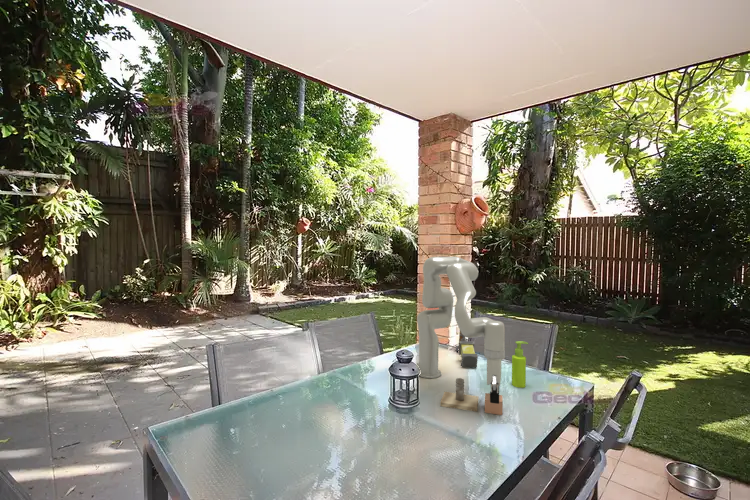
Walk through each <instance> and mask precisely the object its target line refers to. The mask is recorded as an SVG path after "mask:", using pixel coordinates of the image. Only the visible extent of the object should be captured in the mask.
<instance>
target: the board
mask: <svg viewBox="0 0 750 500" xmlns="http://www.w3.org/2000/svg"><path fill="white" fill-rule="evenodd" d="M439 405H440V407H444V408H449V409H451V408H452V409H458V410H464V411H470V412H478V407H479V396H478V395H471V394H466V393H465V379H464V378H461V377H457V378H455V392H450V391H444V392H443V395H442V397H441V400H440V403H439Z"/></svg>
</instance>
